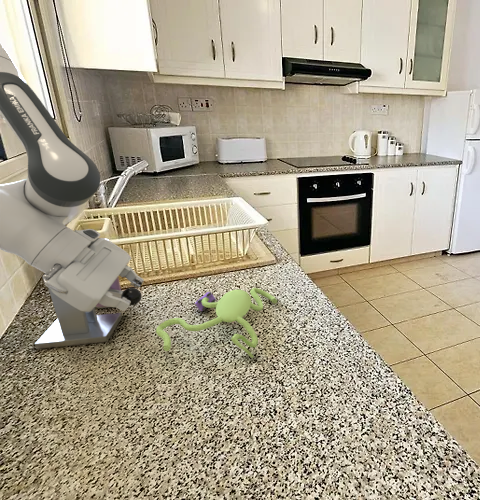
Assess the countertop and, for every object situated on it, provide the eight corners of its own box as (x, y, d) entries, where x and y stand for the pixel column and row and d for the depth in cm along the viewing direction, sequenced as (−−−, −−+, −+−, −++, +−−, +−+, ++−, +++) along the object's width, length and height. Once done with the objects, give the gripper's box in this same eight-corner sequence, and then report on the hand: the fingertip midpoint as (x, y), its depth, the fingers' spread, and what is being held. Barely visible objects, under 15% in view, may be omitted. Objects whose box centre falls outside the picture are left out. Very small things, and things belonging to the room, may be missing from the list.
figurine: (147, 365, 67) (141, 338, 65) (206, 294, 91) (204, 273, 89) (249, 370, 66) (246, 343, 64) (281, 297, 91) (280, 276, 89)
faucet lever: (141, 301, 78) (145, 286, 77) (136, 310, 75) (140, 295, 74) (62, 285, 73) (65, 269, 72) (54, 294, 70) (57, 277, 69)
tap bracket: (122, 317, 81) (109, 263, 76) (107, 341, 73) (92, 282, 68) (58, 323, 78) (41, 267, 74) (36, 349, 70) (15, 288, 66)
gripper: (48, 266, 60) (129, 310, 66) (96, 226, 78) (156, 263, 84) (25, 293, 61) (107, 335, 67) (78, 247, 79) (139, 283, 85)
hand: (135, 294), depth 76 cm, fingers open, 8 cm apart
